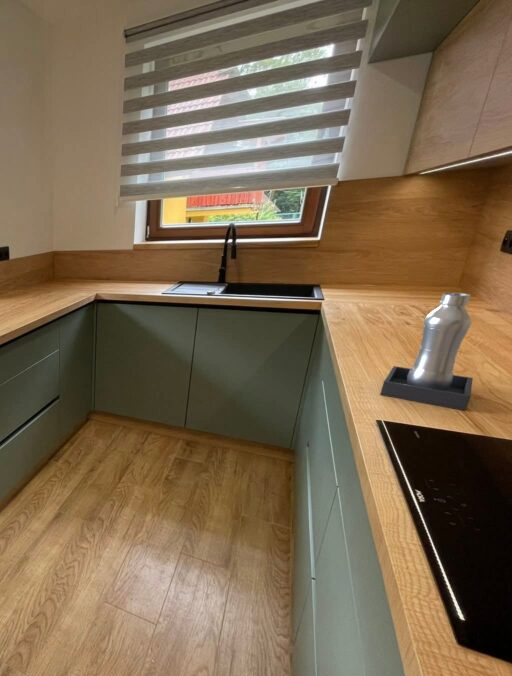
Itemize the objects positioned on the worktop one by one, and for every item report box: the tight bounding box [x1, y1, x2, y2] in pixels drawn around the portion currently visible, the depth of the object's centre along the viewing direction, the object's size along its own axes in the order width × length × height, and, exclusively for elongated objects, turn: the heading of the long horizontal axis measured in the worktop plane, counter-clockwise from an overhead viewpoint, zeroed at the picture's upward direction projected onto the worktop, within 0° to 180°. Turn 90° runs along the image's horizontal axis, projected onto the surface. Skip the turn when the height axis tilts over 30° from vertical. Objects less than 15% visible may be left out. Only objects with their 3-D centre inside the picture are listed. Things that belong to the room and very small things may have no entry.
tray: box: [379, 365, 474, 412], centre depth 89 cm, size 13×12×3 cm
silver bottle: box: [407, 292, 472, 391], centre depth 86 cm, size 6×7×20 cm
